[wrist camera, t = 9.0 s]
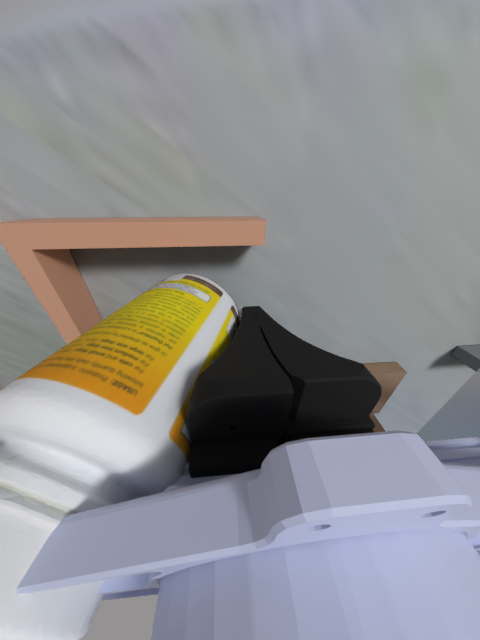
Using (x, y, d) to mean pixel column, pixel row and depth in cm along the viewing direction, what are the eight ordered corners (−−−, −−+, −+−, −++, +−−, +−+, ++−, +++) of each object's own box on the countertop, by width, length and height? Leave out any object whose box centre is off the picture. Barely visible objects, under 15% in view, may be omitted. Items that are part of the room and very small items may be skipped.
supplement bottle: (139, 295, 12) (-212, 528, 4) (206, 250, 9) (-399, 656, 1) (193, 356, 14) (52, 594, 6) (258, 333, 12) (184, 689, 3)
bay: (251, 366, 16) (255, 386, 14) (114, 374, 15) (101, 396, 13) (258, 216, 10) (266, 220, 8) (32, 218, 9) (-11, 223, 7)
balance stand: (370, 402, 20) (415, 464, 15) (297, 407, 20) (321, 473, 15) (395, 361, 17) (462, 424, 12) (308, 367, 16) (343, 435, 12)
